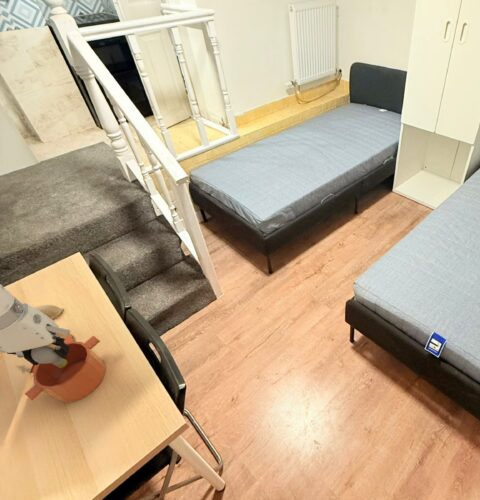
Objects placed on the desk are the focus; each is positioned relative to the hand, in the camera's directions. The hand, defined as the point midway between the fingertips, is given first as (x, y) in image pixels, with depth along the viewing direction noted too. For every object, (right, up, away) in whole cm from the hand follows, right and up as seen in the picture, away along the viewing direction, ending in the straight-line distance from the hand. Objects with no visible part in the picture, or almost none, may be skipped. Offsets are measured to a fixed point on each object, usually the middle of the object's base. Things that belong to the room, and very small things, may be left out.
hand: (52, 356), depth 81 cm
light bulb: (0, -4, +4) cm, 5 cm away
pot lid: (-13, -3, +14) cm, 19 cm away
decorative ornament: (-20, +5, +24) cm, 32 cm away
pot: (+1, -9, +9) cm, 12 cm away
